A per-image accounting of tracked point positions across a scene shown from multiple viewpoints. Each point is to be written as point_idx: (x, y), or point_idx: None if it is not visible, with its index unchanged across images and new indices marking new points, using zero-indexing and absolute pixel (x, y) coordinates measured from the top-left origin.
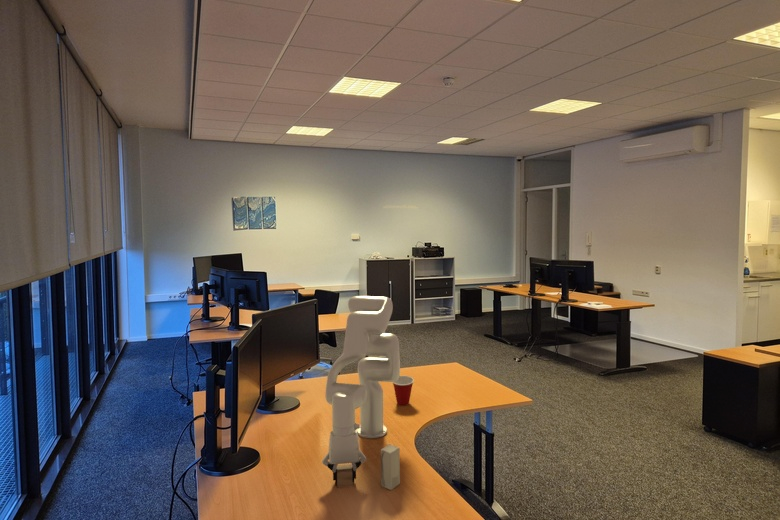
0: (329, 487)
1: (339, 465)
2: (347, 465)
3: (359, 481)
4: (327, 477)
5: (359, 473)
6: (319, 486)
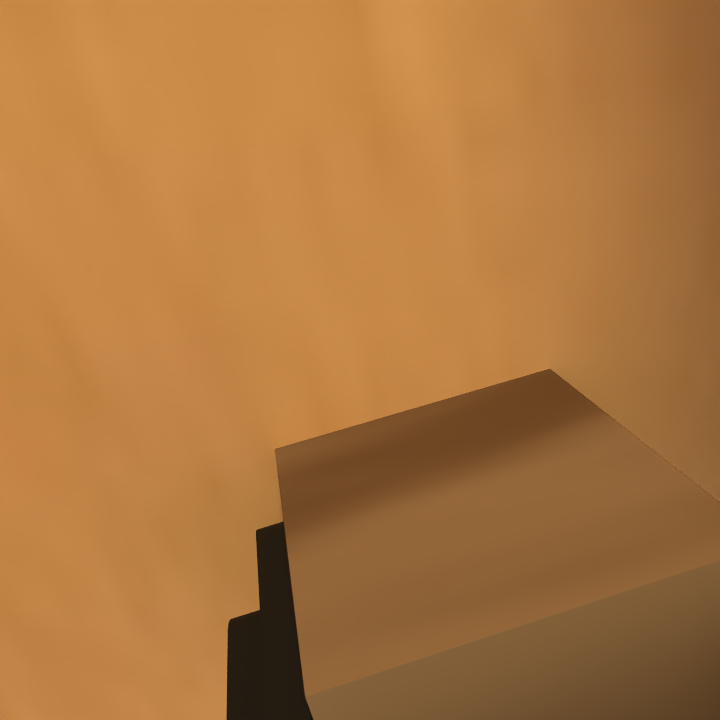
0: (210, 688)
1: (400, 683)
2: (652, 637)
3: (682, 448)
4: (46, 418)
5: (697, 179)
6: (17, 704)
